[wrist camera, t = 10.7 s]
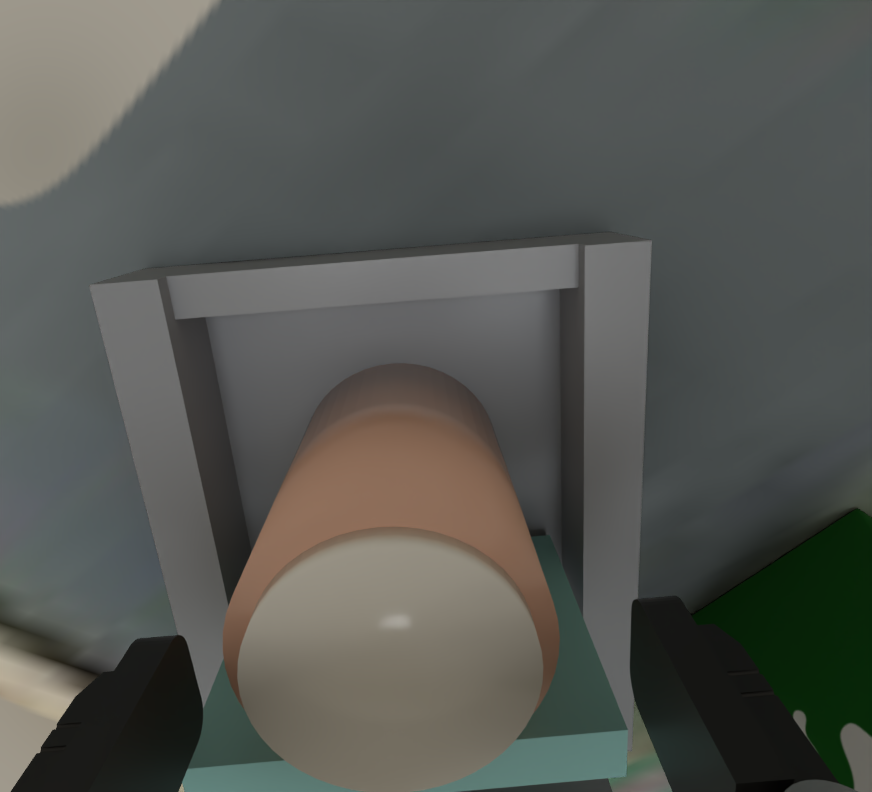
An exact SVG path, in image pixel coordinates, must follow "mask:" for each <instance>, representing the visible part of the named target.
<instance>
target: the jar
mask: <svg viewBox="0 0 872 792" xmlns="http://www.w3.org/2000/svg"><path fill="white" fill-rule="evenodd" d="M559 643H560V635H559V625H558V618H557V614H556V610H555V607H554V603H553V600H552V597H551V594H550V591H549V588H548V585H547V582H546V579H545V576H544V574H543V571H542V568H541V565H540V562H539V559H538V556H537V553H536V550H535V547H534V544H533V542H532V539H531V536H530V533H529V530H528V527H527V524H526V521H525V518H524V515H523V512H522V510H521V507H520V504H519V501H518V498H517V495H516V492H515V489H514V486H513V483H512V480H511V478H510V475H509V472H508V469H507V466H506V463H505V460H504V457H503V454H502V451H501V448H500V446H499V443H498V440H497V437H496V434H495V431H494V428H493V425H492V423H491V420H490V418H489V416H488V414H487V412H486V410H485V409H484V407H483V405H482V404H481V402H480V401H479V400H478V399H477V398H476V396H475V395H474V394H473V393H472V392H471V391H470V390H469V389H468V388H467V387H466V386H464V385H463V384H462V383H460V382H459V381H457V380H456V379H455V378H453V377H451V376H449V375H447V374H445V373H443V372H441V371H438V370H436V369H433V368H430V367H426V366H421V365H416V364H407V363H394V364H385V365H378V366H375V367H371V368H368V369H365V370H362V371H360V372H358V373H355V374H353V375H352V376H350V377H348V378H346V379H345V380H343V381H342V382H340V383H339V384H338V385H337V386H335V387H334V388H333V389H332V390H331V391H330V392H329V393H328V394H327V395H326V396H325V397H324V398H323V400H322V401H321V402H320V404H319V405H318V407H317V408H316V410H315V412H314V414H313V416H312V417H311V420H310V422H309V424H308V426H307V429H306V431H305V433H304V435H303V438H302V440H301V442H300V444H299V447H298V449H297V451H296V453H295V456H294V458H293V460H292V462H291V465H290V467H289V469H288V471H287V474H286V476H285V478H284V480H283V483H282V485H281V487H280V489H279V492H278V494H277V496H276V498H275V501H274V503H273V505H272V507H271V510H270V512H269V514H268V516H267V519H266V521H265V523H264V525H263V528H262V530H261V532H260V534H259V537H258V539H257V541H256V543H255V546H254V548H253V550H252V552H251V555H250V557H249V559H248V561H247V564H246V566H245V568H244V570H243V573H242V575H241V577H240V579H239V582H238V584H237V586H236V588H235V591H234V593H233V595H232V598H231V601H230V604H229V607H228V609H227V612H226V617H225V622H224V628H223V656H224V663H225V669H226V672H227V675H228V678H229V681H230V685H231V687H232V689H233V691H234V693H235V695H236V697H237V699H238V701H239V703H240V704H241V706H242V707H243V709H244V710H245V712H246V714H247V716H248V718H249V720H250V722H251V724H252V725H253V727H254V728H255V730H256V731H257V733H258V734H259V735H260V737H261V738H262V739H263V740H264V741H265V743H266V744H267V745H268V746H269V747H270V748H271V749H272V750H273V751H274V752H275V753H276V754H278V755H279V756H280V757H281V758H282V759H284V760H285V761H286V762H288V763H289V764H291V765H292V766H294V767H295V768H297V769H298V770H300V771H302V772H304V773H306V774H308V775H310V776H312V777H314V778H316V779H318V780H321V781H324V782H326V783H329V784H332V785H335V786H339V787H343V788H347V789H350V790H357V791H363V792H414V791H421V790H426V789H430V788H435V787H439V786H443V785H445V784H448V783H451V782H454V781H457V780H459V779H461V778H464V777H466V776H468V775H470V774H472V773H474V772H476V771H478V770H479V769H481V768H482V767H484V766H486V765H487V764H489V763H490V762H492V761H493V760H494V759H496V758H497V757H498V756H499V755H501V754H502V753H503V752H504V751H505V750H506V749H507V748H508V747H509V746H510V745H511V744H512V743H513V742H514V741H515V740H516V739H517V737H518V736H519V735H520V734H521V732H522V731H523V730H524V728H525V727H526V725H527V723H528V722H529V720H530V718H531V716H532V715H533V713H534V712H535V711H536V709H537V708H538V707H539V705H540V704H541V702H542V700H543V698H544V697H545V695H546V693H547V691H548V689H549V687H550V684H551V682H552V679H553V677H554V674H555V670H556V666H557V661H558V657H559Z"/></svg>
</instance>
